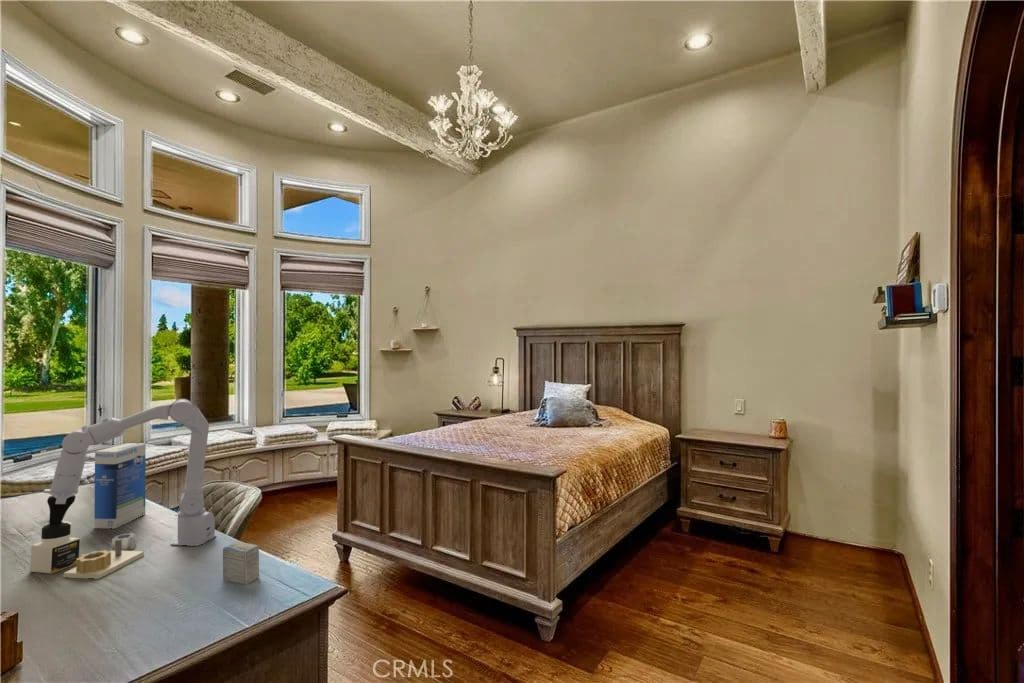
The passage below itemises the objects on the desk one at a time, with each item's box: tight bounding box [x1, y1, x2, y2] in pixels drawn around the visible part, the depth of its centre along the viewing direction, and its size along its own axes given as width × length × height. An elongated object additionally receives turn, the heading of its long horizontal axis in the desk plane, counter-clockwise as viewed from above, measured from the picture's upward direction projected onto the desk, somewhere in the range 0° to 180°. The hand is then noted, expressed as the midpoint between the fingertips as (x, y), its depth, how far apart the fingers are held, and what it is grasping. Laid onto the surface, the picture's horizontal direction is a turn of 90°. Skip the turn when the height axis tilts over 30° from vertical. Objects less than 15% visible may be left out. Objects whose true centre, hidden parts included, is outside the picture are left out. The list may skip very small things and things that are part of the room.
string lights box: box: [93, 442, 147, 530], centre depth 167 cm, size 13×8×26 cm, turn 178°
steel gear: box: [111, 532, 137, 551], centre depth 145 cm, size 6×6×4 cm
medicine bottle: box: [29, 520, 81, 574], centre depth 133 cm, size 7×7×12 cm
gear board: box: [63, 539, 145, 580], centre depth 134 cm, size 10×14×6 cm
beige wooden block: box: [222, 541, 260, 586], centre depth 126 cm, size 8×4×9 cm, turn 71°
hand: (54, 524), depth 133 cm, fingers closed, pressing on medicine bottle
